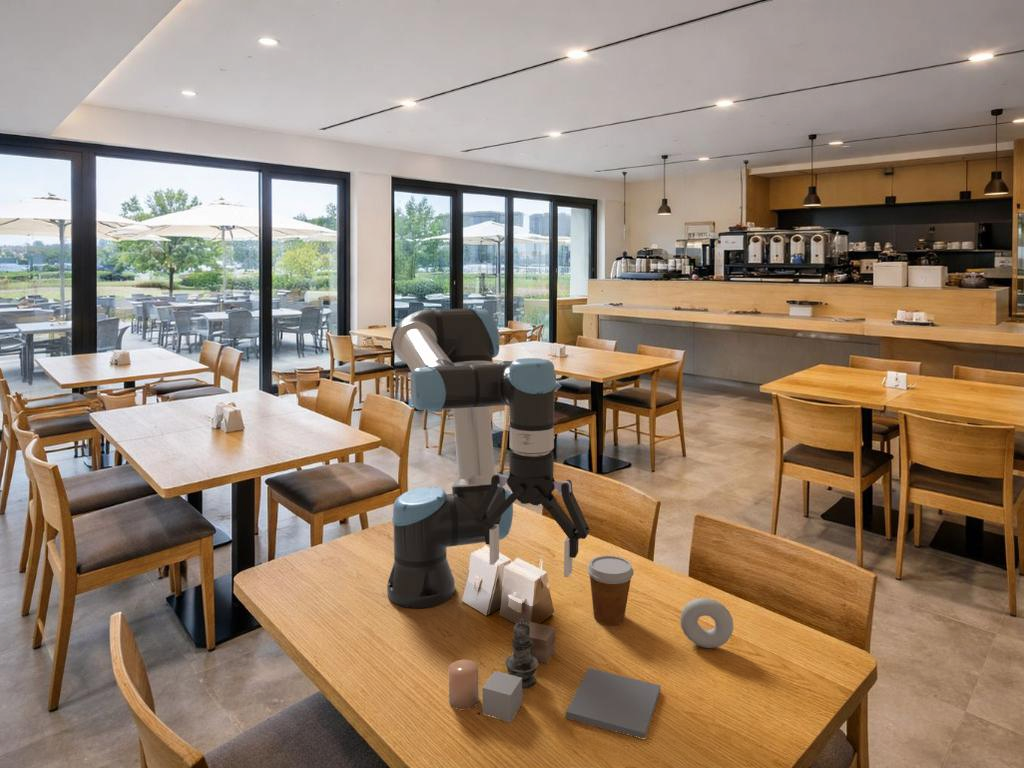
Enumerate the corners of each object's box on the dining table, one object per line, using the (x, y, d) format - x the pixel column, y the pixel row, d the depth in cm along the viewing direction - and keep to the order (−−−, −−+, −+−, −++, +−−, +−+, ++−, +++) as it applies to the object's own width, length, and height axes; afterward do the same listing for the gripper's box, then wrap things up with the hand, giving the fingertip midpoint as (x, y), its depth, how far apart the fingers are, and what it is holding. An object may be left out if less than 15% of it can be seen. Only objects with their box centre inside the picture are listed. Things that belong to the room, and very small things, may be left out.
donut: (732, 646, 129) (735, 599, 128) (731, 656, 126) (734, 607, 124) (679, 636, 133) (682, 590, 131) (677, 645, 130) (680, 598, 128)
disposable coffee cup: (577, 617, 140) (578, 564, 138) (604, 601, 146) (606, 550, 144) (613, 635, 133) (615, 579, 131) (640, 617, 140) (643, 564, 138)
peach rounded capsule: (443, 705, 112) (443, 673, 111) (457, 687, 116) (457, 657, 115) (470, 713, 110) (469, 680, 109) (483, 695, 115) (483, 663, 113)
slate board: (565, 718, 109) (566, 711, 109) (588, 673, 121) (588, 667, 120) (644, 740, 104) (645, 733, 104) (660, 691, 116) (660, 685, 115)
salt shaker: (518, 666, 123) (519, 606, 121) (544, 678, 119) (545, 617, 117) (498, 681, 118) (498, 619, 116) (524, 694, 115) (524, 631, 112)
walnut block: (521, 659, 125) (521, 635, 124) (530, 645, 130) (530, 621, 129) (546, 665, 123) (546, 640, 122) (554, 651, 128) (555, 627, 127)
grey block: (482, 714, 110) (482, 687, 109) (495, 696, 114) (494, 670, 113) (510, 722, 108) (510, 695, 107) (521, 704, 112) (522, 677, 111)
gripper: (455, 448, 113) (456, 565, 117) (599, 464, 105) (595, 589, 108) (472, 438, 120) (473, 548, 124) (608, 451, 112) (605, 569, 115)
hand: (530, 567), depth 116 cm, fingers open, 13 cm apart
